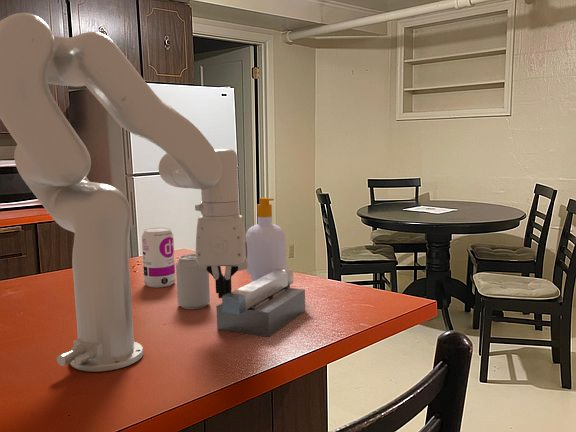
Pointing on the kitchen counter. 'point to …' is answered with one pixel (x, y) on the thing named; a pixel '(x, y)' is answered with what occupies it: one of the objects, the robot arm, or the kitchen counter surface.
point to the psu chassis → (265, 313)
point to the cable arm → (256, 291)
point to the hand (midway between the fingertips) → (223, 296)
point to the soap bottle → (265, 243)
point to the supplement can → (158, 257)
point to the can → (191, 283)
